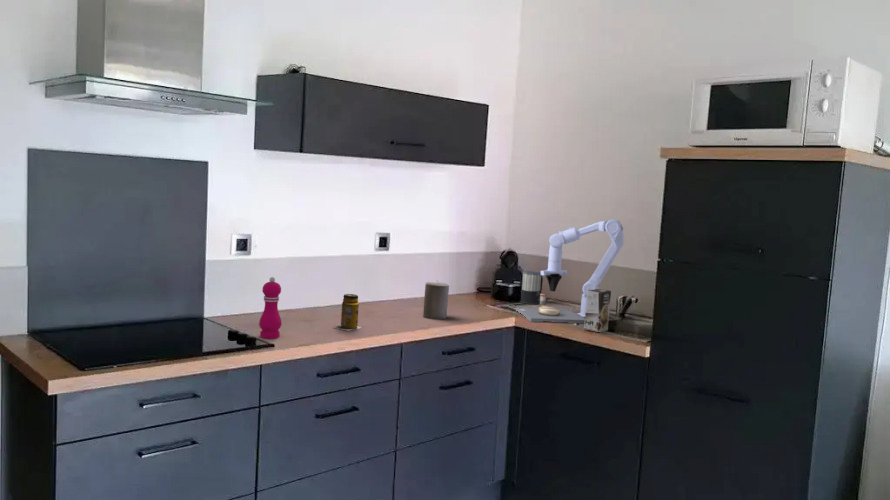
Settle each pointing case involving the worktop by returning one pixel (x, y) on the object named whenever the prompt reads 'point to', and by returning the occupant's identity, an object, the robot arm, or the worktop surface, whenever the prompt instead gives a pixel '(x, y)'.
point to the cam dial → (545, 309)
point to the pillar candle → (436, 300)
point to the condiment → (349, 313)
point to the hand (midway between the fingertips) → (552, 291)
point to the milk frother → (531, 287)
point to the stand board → (550, 316)
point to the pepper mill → (270, 311)
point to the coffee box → (597, 309)
